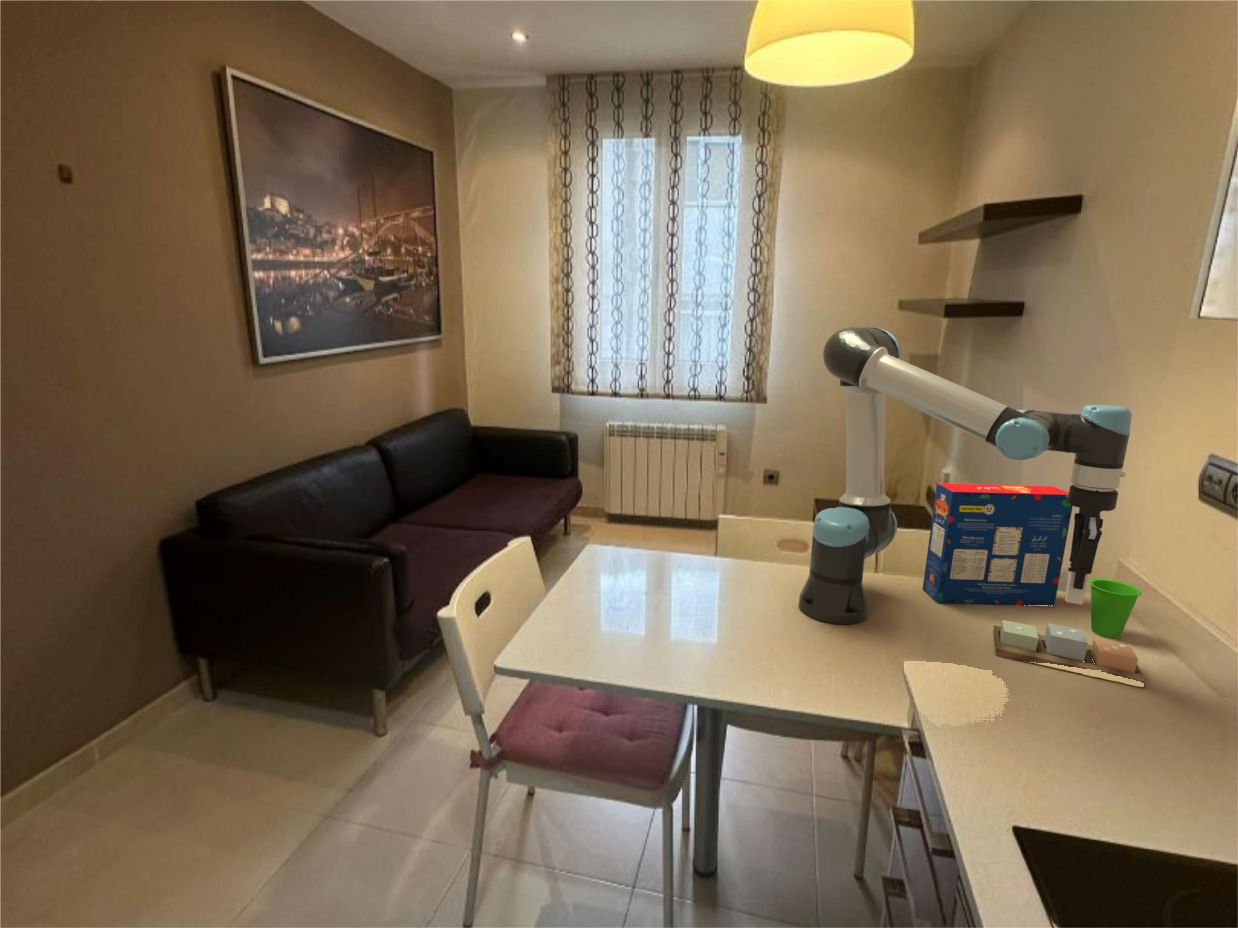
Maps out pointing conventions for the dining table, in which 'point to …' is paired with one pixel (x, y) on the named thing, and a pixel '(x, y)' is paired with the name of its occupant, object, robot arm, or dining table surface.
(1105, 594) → the cup
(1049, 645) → the grey block
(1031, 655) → the board
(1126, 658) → the peach block
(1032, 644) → the pale green block
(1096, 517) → the robot arm
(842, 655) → the dining table surface
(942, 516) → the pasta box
